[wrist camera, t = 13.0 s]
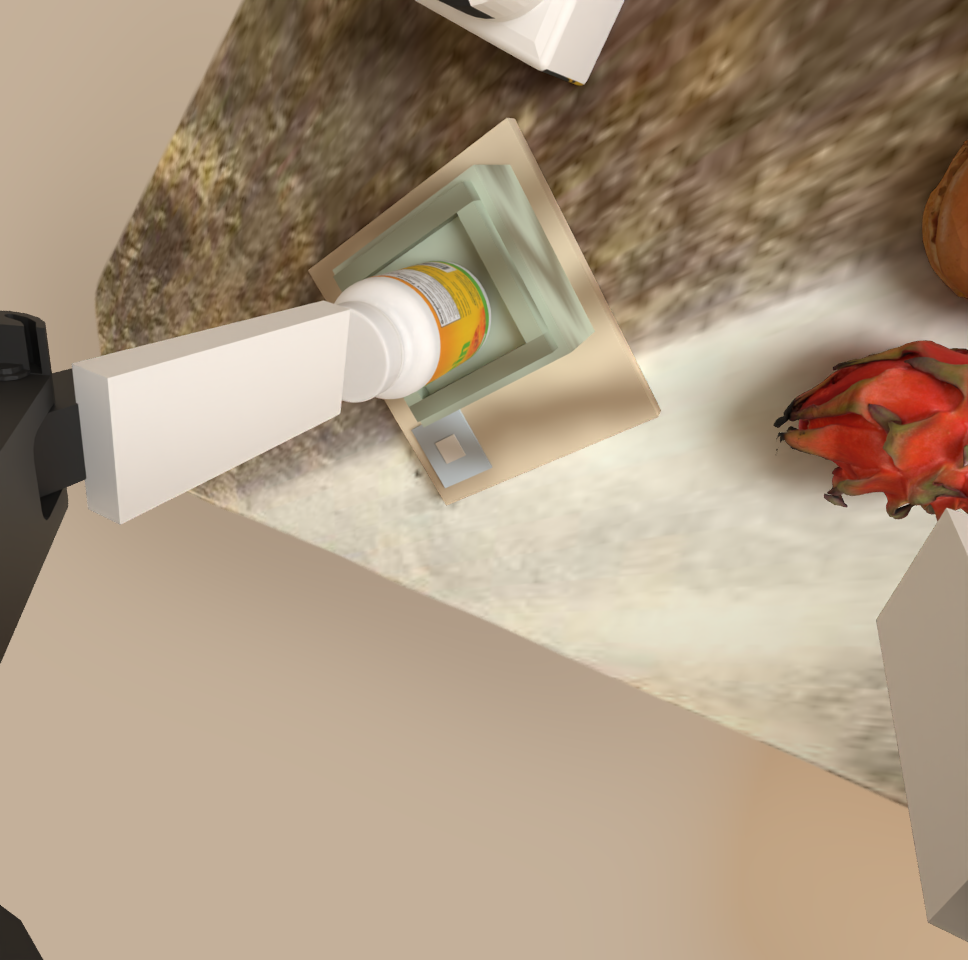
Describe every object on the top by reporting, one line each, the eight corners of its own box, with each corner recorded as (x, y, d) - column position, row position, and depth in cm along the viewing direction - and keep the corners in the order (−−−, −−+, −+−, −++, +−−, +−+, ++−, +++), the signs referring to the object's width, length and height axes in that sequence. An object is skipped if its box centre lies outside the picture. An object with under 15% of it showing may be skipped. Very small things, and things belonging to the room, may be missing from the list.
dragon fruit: (1046, 429, 34) (791, 394, 39) (1124, 308, 27) (802, 287, 32) (1031, 578, 30) (756, 518, 36) (1115, 484, 24) (759, 427, 29)
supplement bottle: (443, 381, 37) (346, 443, 29) (383, 301, 36) (267, 341, 28) (514, 323, 34) (429, 373, 26) (450, 236, 33) (342, 259, 25)
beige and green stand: (661, 410, 39) (639, 455, 33) (453, 498, 47) (405, 546, 41) (515, 118, 36) (460, 109, 30) (318, 268, 44) (245, 284, 38)
